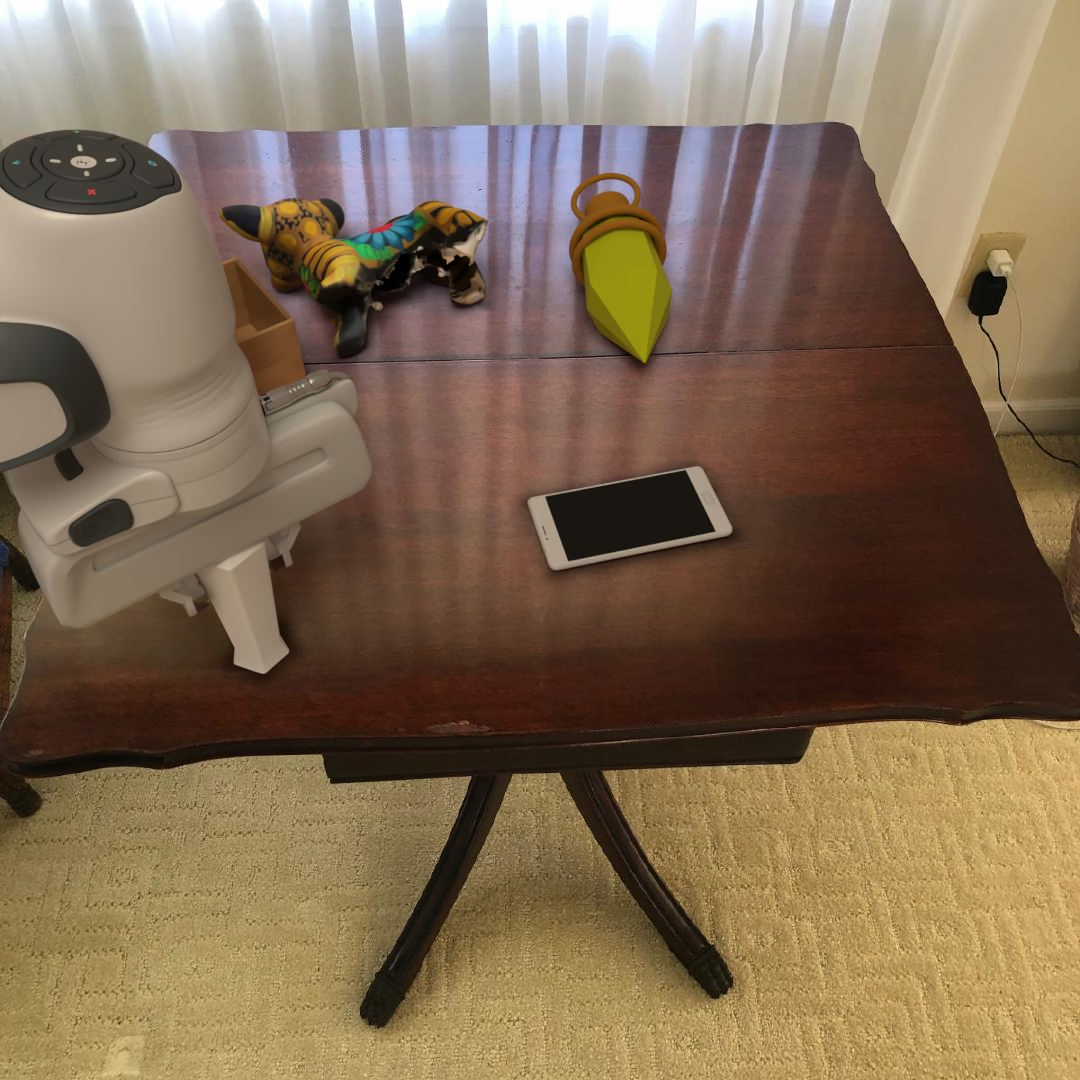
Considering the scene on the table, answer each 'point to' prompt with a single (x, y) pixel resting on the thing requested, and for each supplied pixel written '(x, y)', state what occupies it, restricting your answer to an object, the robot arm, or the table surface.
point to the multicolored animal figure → (362, 256)
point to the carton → (263, 331)
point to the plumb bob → (621, 267)
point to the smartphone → (627, 517)
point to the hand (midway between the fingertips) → (237, 584)
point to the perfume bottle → (247, 607)
